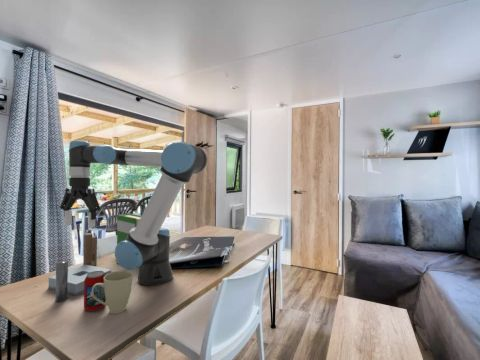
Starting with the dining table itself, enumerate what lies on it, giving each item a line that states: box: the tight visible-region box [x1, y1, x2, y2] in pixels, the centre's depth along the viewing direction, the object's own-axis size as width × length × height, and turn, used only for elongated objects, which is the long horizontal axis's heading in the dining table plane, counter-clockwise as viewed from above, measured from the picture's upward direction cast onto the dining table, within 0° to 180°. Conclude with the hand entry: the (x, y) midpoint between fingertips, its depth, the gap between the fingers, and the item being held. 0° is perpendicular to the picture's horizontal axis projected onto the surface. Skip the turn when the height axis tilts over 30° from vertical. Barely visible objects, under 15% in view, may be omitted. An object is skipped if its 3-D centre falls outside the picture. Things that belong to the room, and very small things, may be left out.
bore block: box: [48, 264, 112, 297], centre depth 104 cm, size 16×16×4 cm
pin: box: [54, 260, 69, 303], centre depth 90 cm, size 4×4×14 cm
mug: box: [92, 270, 133, 314], centre depth 84 cm, size 11×10×12 cm
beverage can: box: [83, 271, 106, 312], centre depth 86 cm, size 7×7×12 cm
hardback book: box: [116, 213, 142, 245], centre depth 137 cm, size 18×7×24 cm, turn 55°
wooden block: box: [82, 232, 98, 267], centre depth 121 cm, size 4×11×18 cm, turn 17°
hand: (79, 226), depth 105 cm, fingers open, 13 cm apart
